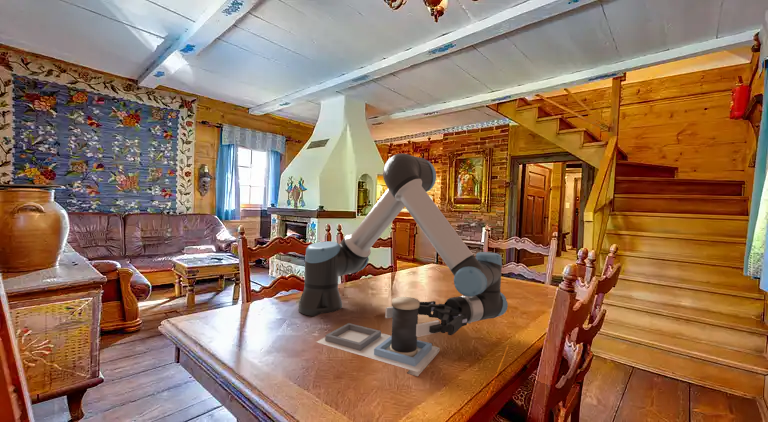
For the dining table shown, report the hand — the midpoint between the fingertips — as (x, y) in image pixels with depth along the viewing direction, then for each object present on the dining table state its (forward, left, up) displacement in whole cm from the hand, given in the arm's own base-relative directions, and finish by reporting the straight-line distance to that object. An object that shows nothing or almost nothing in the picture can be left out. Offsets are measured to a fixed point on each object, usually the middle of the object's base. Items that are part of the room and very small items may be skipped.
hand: (400, 321), depth 84 cm
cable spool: (+1, +1, -8) cm, 8 cm away
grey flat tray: (-7, +1, -9) cm, 12 cm away
